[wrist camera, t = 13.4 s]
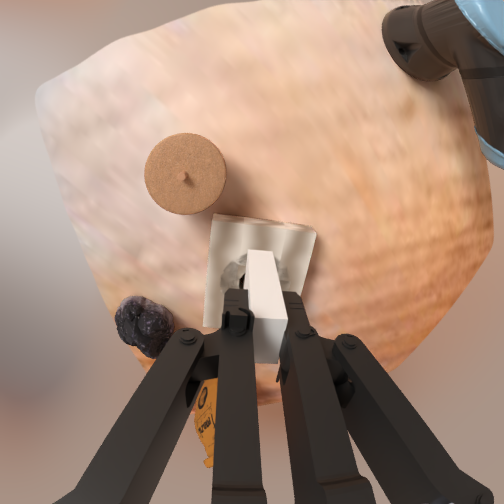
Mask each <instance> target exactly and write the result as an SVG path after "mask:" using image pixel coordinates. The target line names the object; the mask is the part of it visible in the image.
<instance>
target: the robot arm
mask: <svg viewBox="0 0 504 504" xmlns="http://www.w3.org/2000/svg"><path fill="white" fill-rule="evenodd" d="M382 35H383V39H384V42H385V45H386V47H387V49H388V51H389V53H390V55H391V56H392V58H393V59H394V60H395V62H396V63H397V64H398V65H399V66H400V67H401V68H402V69H403V70H404V71H405V72H407V73H408V74H409V75H411V76H413V77H415V78H417V79H419V80H423V81H434V80H440V79H442V78H444V77H446V76H447V75H448V74H449V73H450V72H451V71H453V70H455V69H456V68H458V69H459V72H460V75H461V77H462V81H463V84H464V87H465V90H466V93H467V97H468V100H469V104H470V107H471V111H472V115H473V119H474V123H475V126H474V128H475V132H476V134H477V136H478V140H479V144H480V149H481V151H482V153H483V154H484V156H485V157H486V159H487V160H489V162H491V163H492V164H493V165H495V166H497V167H499V168H501V169H503V170H504V1H503V0H433V1H431V2H429V3H427V4H425V5H411V6H400V7H397V8H395V9H393V10H391V11H390V12H388V13H387V14H386V16H385V17H384V19H383V23H382ZM304 309H305V308H304V305H303V302H302V299H301V297H300V296H299V295H298V294H297V293H296V292H292V291H282V290H281V286H280V282H279V277H278V273H277V269H276V264H275V260H274V256H273V251H262V250H250V249H248V253H247V263H246V272H245V282H244V289H235V288H229V289H228V290H227V291H226V292H225V294H224V306H223V313H222V324H221V327H220V329H219V330H217V331H216V332H214V333H211V334H207V335H203V334H202V333H201V332H200V331H198V330H196V329H193V328H182V329H179V330H177V331H176V332H175V333H174V334H173V335H172V336H171V338H170V339H169V341H168V342H167V344H166V345H165V347H164V348H163V350H162V351H161V353H160V354H159V356H158V357H157V359H156V360H155V362H154V364H153V365H152V367H151V368H150V370H149V371H148V373H147V374H146V376H145V377H144V379H143V380H142V382H141V384H140V385H139V387H138V388H137V390H136V391H135V393H134V394H133V396H132V397H131V399H130V401H129V402H128V404H127V405H126V407H125V409H124V410H123V412H122V413H121V415H120V416H119V418H118V419H117V421H116V423H115V424H114V426H113V427H112V429H111V431H110V432H109V434H108V435H107V437H106V438H105V440H104V442H103V444H102V445H101V446H100V448H99V450H98V451H97V453H96V455H95V456H94V458H93V459H92V461H91V463H90V464H89V466H88V468H87V469H86V471H85V472H84V474H83V476H82V477H81V479H80V481H79V482H78V484H77V486H76V488H75V489H74V490H73V491H71V492H70V493H68V494H67V495H65V496H64V497H62V498H61V499H59V500H58V501H56V502H55V503H53V504H149V502H150V500H151V497H152V495H153V493H154V491H155V489H156V487H157V485H158V482H159V480H160V478H161V476H162V474H163V472H164V469H165V467H166V465H167V463H168V460H169V458H170V456H171V454H172V452H173V450H174V448H175V445H176V443H177V441H178V439H179V437H180V434H181V432H182V430H183V428H184V426H185V423H186V421H187V419H188V417H189V415H190V412H191V410H192V408H193V406H194V404H195V401H196V399H197V397H198V395H199V392H200V390H201V388H202V386H203V384H204V380H209V379H215V378H218V383H217V399H216V416H215V435H214V457H213V483H212V502H211V504H267V498H266V493H265V490H264V488H263V485H262V471H261V457H260V441H259V425H258V409H257V393H256V377H255V363H268V364H278V360H279V358H280V367H279V371H278V375H277V378H276V382H278V381H279V379H280V386H281V394H282V402H283V409H284V416H285V425H286V432H287V440H288V448H289V456H290V464H291V472H292V480H293V488H294V495H295V496H294V497H295V504H376V501H375V498H374V493H373V490H372V486H371V484H370V482H369V480H368V479H367V478H366V477H363V476H361V475H360V474H359V472H358V469H357V465H356V461H355V457H354V453H353V450H352V446H351V442H350V439H349V435H348V432H349V434H350V435H351V437H352V439H353V440H354V442H355V444H356V445H357V447H358V449H359V451H360V452H361V454H362V456H363V457H364V459H365V461H366V462H367V464H368V466H369V467H370V469H371V471H372V472H373V474H374V476H375V478H376V479H377V481H378V483H379V484H380V486H381V488H382V489H383V491H384V493H385V494H386V496H387V498H388V499H389V501H390V503H391V504H494V496H493V493H492V492H491V491H490V489H488V488H487V487H485V486H484V485H482V484H481V483H479V482H478V481H476V480H475V479H473V478H472V477H470V476H469V475H467V474H465V473H464V472H463V471H461V470H459V468H458V467H457V466H456V464H455V463H454V461H453V460H452V459H451V457H450V456H449V454H448V453H447V452H446V450H445V449H444V448H443V446H442V445H441V443H440V442H439V441H438V439H437V438H436V437H435V435H434V434H433V433H432V431H431V430H430V428H429V427H428V426H427V425H426V423H425V422H424V420H423V419H422V418H421V416H420V415H419V414H418V413H417V411H416V410H415V409H414V407H413V406H412V405H411V403H410V402H409V401H408V399H407V398H406V397H405V396H404V394H403V393H402V392H401V390H400V389H399V388H398V386H397V385H396V384H395V383H394V381H393V380H392V379H391V378H390V376H389V375H388V374H387V372H386V371H385V370H384V369H383V367H382V366H381V365H380V364H379V362H378V361H377V360H376V359H375V357H374V356H373V355H372V354H371V352H370V351H369V350H368V349H367V347H366V346H365V345H364V344H363V342H362V341H361V340H360V339H359V338H358V337H356V336H354V335H351V334H341V335H338V336H337V338H336V339H335V340H331V339H326V338H323V337H320V336H319V335H318V333H317V331H316V330H315V329H314V328H313V327H311V326H310V324H309V321H308V318H307V315H306V311H305V310H304ZM347 430H348V431H347Z"/></svg>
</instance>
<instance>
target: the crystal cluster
mask: <svg viewBox="0 0 504 504" xmlns="http://www.w3.org/2000/svg"><path fill="white" fill-rule="evenodd" d="M115 322H116V325H117V330H118V334H119V336H120V338H121V339H122V340H123V341H124V342H125V343H126V344H129V345H131V346H137V348H138V349H140V350H141V352H142V353H143V354H144V355H145V356H146V357H150V358H152V359H157V357H158V356H159V354H160V353H161V351H162V350H163V348H164V347H165V345H166V344H167V342H168V341H169V339H170V338H171V336H172V334H173V331H174V324H173V316H172V314H171V313H170V312H169V311H168V310H167V309H166V308H165V307H164V306H162V305H160V304H156V303H154V302H152V301H150V300H148V299H146V298H144V297H141V296H130V297H127V298H126V299H124V300H123V301H122V302H121V305H120V307H118V309H117V312H116V315H115Z"/></svg>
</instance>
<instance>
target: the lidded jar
mask: <svg viewBox="0 0 504 504" xmlns="http://www.w3.org/2000/svg"><path fill="white" fill-rule="evenodd" d="M144 176H145V183H146V187H147V190H148V192H149V194H150V195H151V197H152V199H153V200H154V201H155V202H156V203H157V204H158V205H159V206H161V207H162V208H163V209H165V210H167V211H169V212H172V213H175V214H181V215H189V214H195V213H198V212H201V211H203V210H205V209H207V208H208V207H210V206H211V205H212V204H213V203H214V202H215V201H216V200H217V199H218V198H219V196H220V194H221V193H222V191H223V188H224V185H225V182H226V165H225V161H224V158H223V156H222V154H221V152H220V150H219V149H218V148H217V146H216V145H215V144H214V143H212V142H211V141H210V140H208V139H207V138H205V137H202V136H200V135H197V134H192V133H180V134H175V135H172V136H169V137H167V138H165V139H164V140H162V141H161V142H159V143H158V144H157V145H156V146H155V147H154V149H153V150H152V151H151V153H150V155H149V156H148V159H147V162H146V165H145V174H144Z"/></svg>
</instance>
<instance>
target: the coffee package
mask: <svg viewBox="0 0 504 504" xmlns="http://www.w3.org/2000/svg"><path fill="white" fill-rule="evenodd" d="M217 383H218V378H215V379H209V380H204V384H203V386H202V388H201V390H200V392H199V395H198V397H197V401H196V411H195V419H194V422H195V428H196V432H197V434H198V436H199V439H200V440H201V442H202V444H203V445H204V447H205V450H206V453H207V456H208V457H209V458H207V459H205V460H204V464H205V466H206V467H207V468H210V467H213V457H214V435H215V416H216V399H217Z"/></svg>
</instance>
